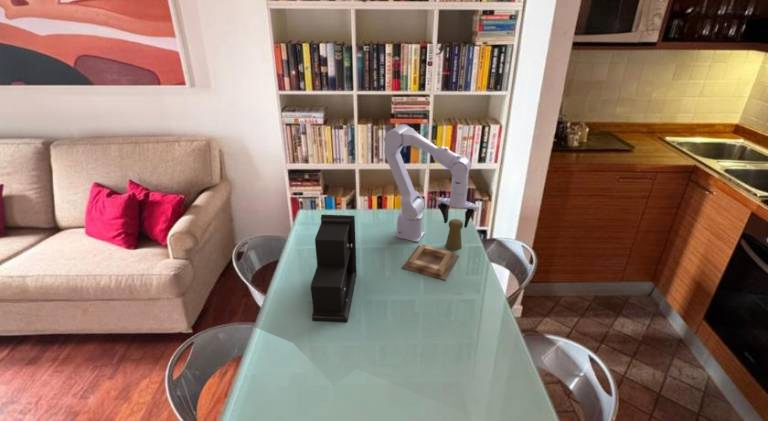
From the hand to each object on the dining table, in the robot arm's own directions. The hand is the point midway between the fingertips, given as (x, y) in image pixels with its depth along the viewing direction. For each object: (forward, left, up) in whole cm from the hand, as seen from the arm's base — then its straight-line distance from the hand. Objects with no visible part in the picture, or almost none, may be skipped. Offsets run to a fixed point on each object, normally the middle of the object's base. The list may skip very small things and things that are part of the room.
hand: (455, 224), depth 151 cm
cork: (0, 0, -10) cm, 10 cm away
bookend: (-25, -45, -10) cm, 52 cm away
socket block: (-4, -14, -10) cm, 17 cm away
